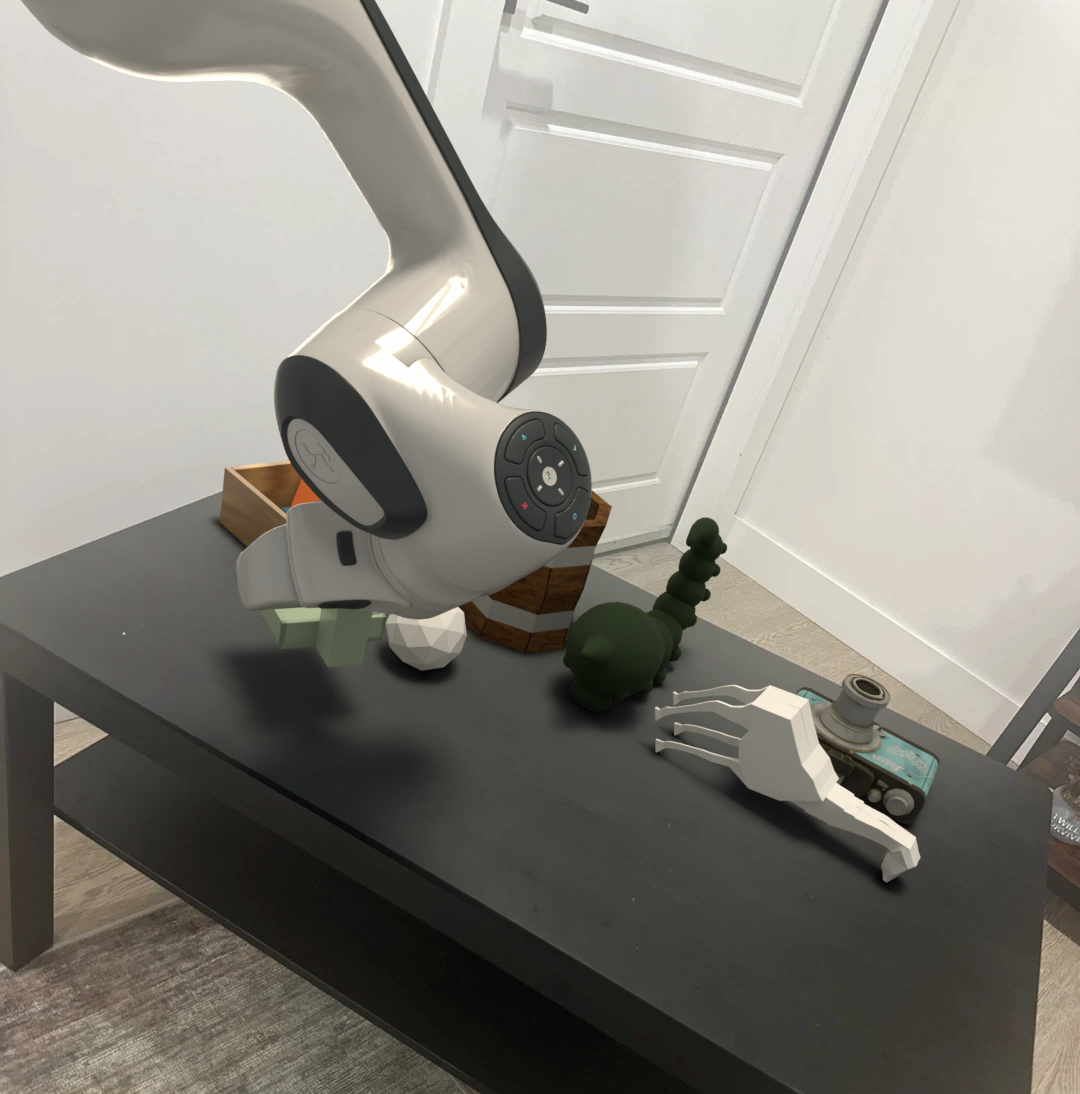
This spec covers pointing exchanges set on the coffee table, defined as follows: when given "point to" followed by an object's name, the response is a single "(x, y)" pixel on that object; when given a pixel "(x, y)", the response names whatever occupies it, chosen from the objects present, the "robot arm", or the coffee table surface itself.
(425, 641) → the geometric ball
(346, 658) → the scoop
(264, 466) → the holder
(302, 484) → the sachet orange
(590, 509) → the mug
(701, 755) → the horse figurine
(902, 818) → the camera
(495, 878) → the coffee table surface
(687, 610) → the toy caterpillar
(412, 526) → the robot arm
